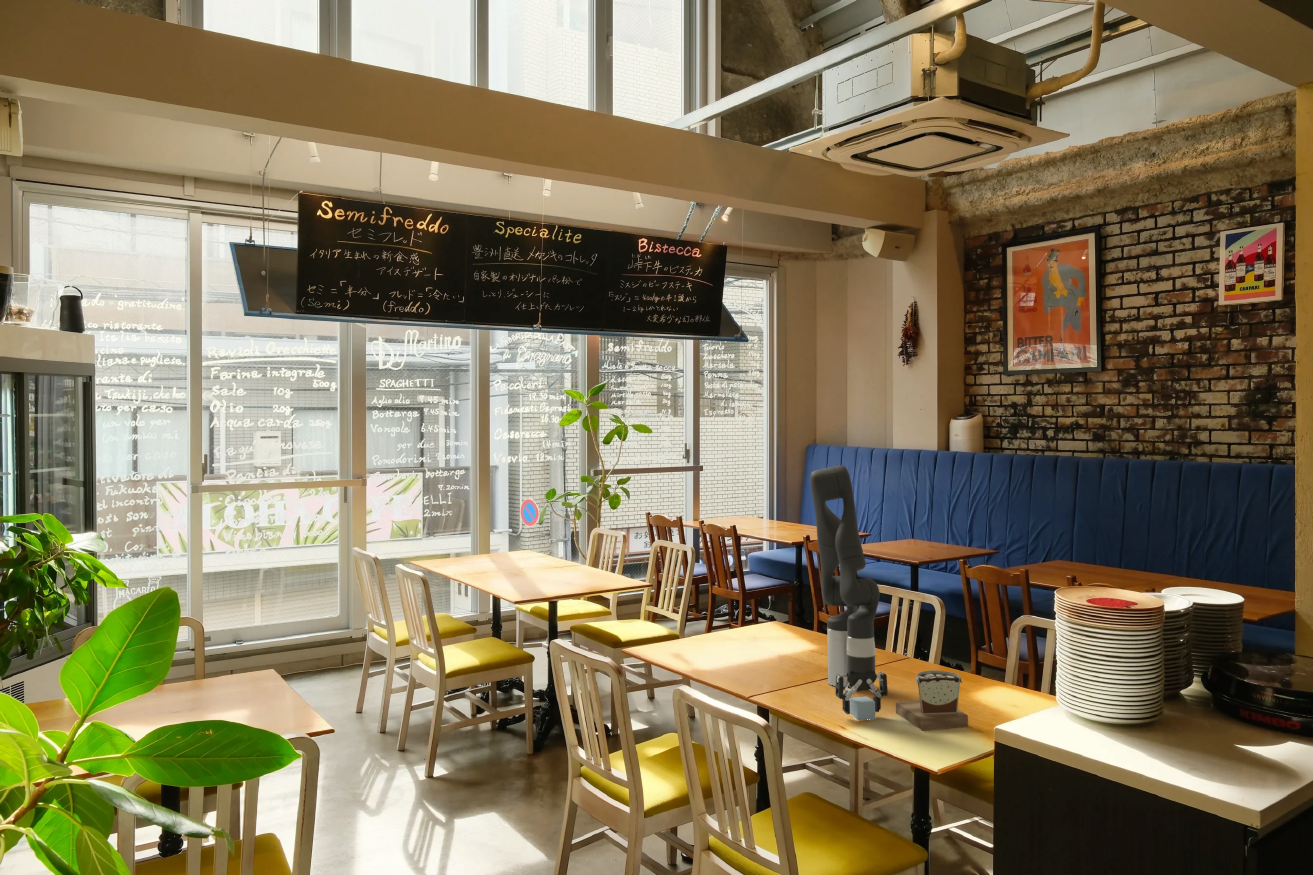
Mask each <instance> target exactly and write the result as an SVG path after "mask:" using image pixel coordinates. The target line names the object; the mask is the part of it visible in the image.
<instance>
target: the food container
mask: <svg viewBox="0 0 1313 875" xmlns="http://www.w3.org/2000/svg"><path fill="white" fill-rule="evenodd" d="M914 683H915V685H917V687H918V695H919V700H920V706H921V713H922V714H948V713H957V710H959V708H958V707H959V697H960V687H961V686H960V685H961V684H963V680H962V677H961V675H960V674H958V673H955V672H952V671H945V670H935V669H934V670H932V669H931V670H923V671H920V672H918V673H917V675H916V676H915V682H914ZM960 683H961V684H960Z"/></svg>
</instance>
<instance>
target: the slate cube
mask: <svg viewBox="0 0 1313 875" xmlns="http://www.w3.org/2000/svg"><path fill="white" fill-rule="evenodd" d="M849 701H850V714H851V715H853V716H854V717H855V718H856V719H857V720H867V719H868V720H869V719H870V720H869V721H876V712H875V701H873V698H872V699H871V698H870V697H869V696H857V697H851V698H850V699H849ZM850 714H849V715H850ZM857 720H856V721H857Z"/></svg>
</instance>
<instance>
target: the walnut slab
mask: <svg viewBox="0 0 1313 875" xmlns="http://www.w3.org/2000/svg"><path fill="white" fill-rule="evenodd" d="M895 714H896V715H898V716H899V717H900V718H902V719H904V720H906V721H907V722H909V723H910V724H912V725H913V726H915V727H917V728H918V729H920V730H921V731H932V730H945V729H957V728H966V727H969V714H967V713H966V712H963V711H961V710H959V709H958V710H957V713H948V714H922V713H921V706H920V699H917V700H907V701H906V700H905V701H896V702H895Z"/></svg>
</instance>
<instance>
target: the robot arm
mask: <svg viewBox="0 0 1313 875" xmlns="http://www.w3.org/2000/svg"><path fill="white" fill-rule="evenodd" d="M809 477H810V478H809V480H810V482H809V483H810V489H811V490H810V491H811V496H812V500H813V506H814V508H813V509H814V514H815V522H816V524H815V525H816V538H817V539H816V540H817V545H818V546H817V547H818V553H819V561H820V573H821V575H820V579H821V595H822V596H821V597H822V600H823V603H824V604H825V605H827V606H831V607H846V609H845V611H843V612H841V613H839V614H836V615H832V616H830V617H829V618H827V622H826V624H827V625H826V626H827V627H826V630H827V636H826V637H827V680H828V682H827V683H828V685H830V686H832V685H833V687H835V694H834V695H835V696H836V697H837V698H838V699H840V700H841V701H842V711H843V712H844V713H845V714H846V715H850V698H852V696H853V695H854V694H856V691H857V692H862V691H865V692H867V691H870V692H871V693H872V694H873V697H872V700H873V701H875V713H879V712H880V710H881V708H882V697H884V696H885V697H886V696H888V694H889V690H888V675H887V674H886V673H885V672H883V671H880V672H877V673H876V644H875V626H874V625H875V624H874V622H875V619H876V615H877V611H878V606H879V603H880V597H881V595H880V594H881V593H880V587H879V585H878V584H877V582H876V581H875V580H874V579H872V578H861V579H857V572H860V571H862V570H863V569H865V568H866V566H867V565H866V564H867V563H866V558H865V555H864V554H865V553H864V550H863V547H862V542H861V539H860V538H861V537H860V533H859V532H860V531H859V527H858V519H857V511H856V503H855V497H854V490H853V484H852V479H851V476H850V472H849V470H848V469H847V467H846V466H845V465H841V464H840V465H835V466H829V467H824V468H823V467H822V468H819V469H815V470H813V471H812V472H811V473H810V476H809ZM839 499H842V504H843V505H842V506H843V508H842V515H841V518H840V517H839V516H837V515H836V514H835V513H834V512H833V511H832V510H831V509H830V507H829V506H828V505H827V503H826V502H827V501H828V502H829V501H833V500H839ZM838 567H839V570H840V571H839V575H836V576H835V575H834V573H835V571H836V569H837V568H838ZM876 680H877V681H878V683H879V689H878V688H877V687H876V685H875V684H874V683H875V682H876Z"/></svg>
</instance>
